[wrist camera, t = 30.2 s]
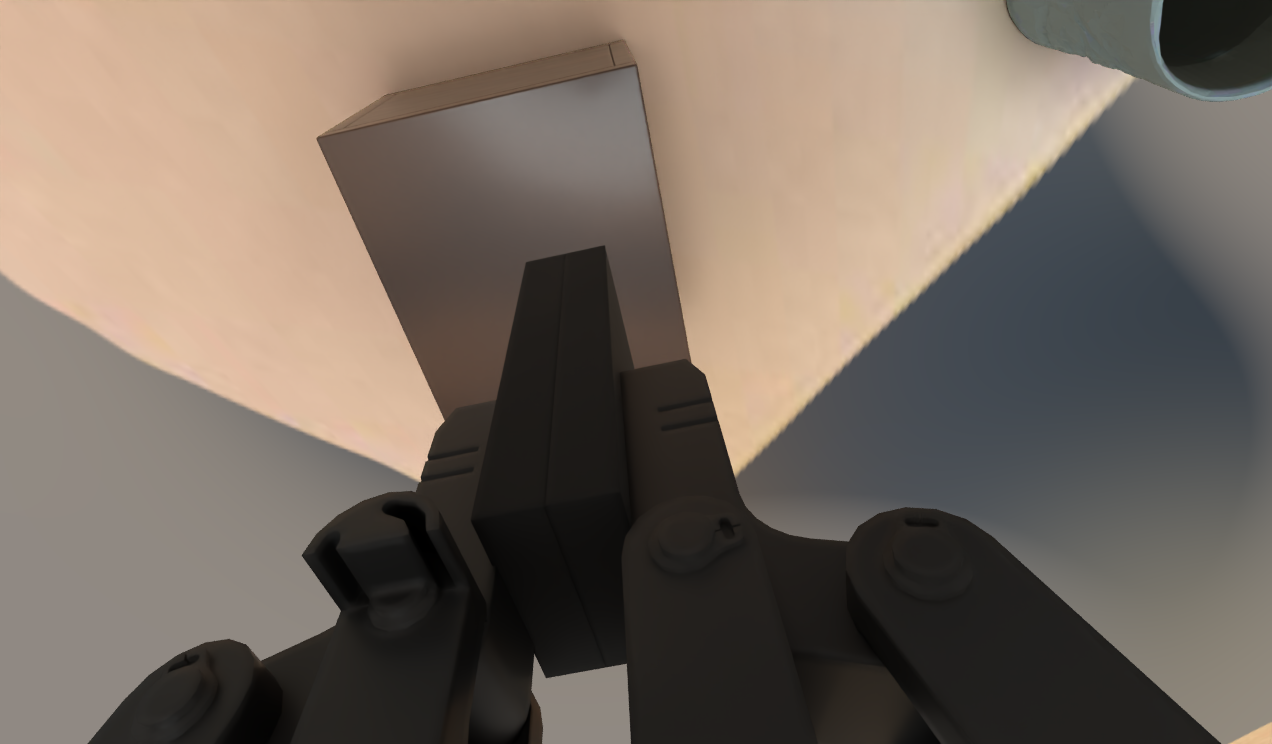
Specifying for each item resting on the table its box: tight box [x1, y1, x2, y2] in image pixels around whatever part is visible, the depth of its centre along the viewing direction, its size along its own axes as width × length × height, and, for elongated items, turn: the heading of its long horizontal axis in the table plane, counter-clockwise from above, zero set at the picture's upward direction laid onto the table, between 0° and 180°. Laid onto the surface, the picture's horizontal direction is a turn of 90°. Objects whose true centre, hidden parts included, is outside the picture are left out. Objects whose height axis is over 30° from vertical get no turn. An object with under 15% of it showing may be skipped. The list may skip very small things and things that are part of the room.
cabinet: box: [317, 40, 691, 420], centre depth 35 cm, size 16×14×11 cm
